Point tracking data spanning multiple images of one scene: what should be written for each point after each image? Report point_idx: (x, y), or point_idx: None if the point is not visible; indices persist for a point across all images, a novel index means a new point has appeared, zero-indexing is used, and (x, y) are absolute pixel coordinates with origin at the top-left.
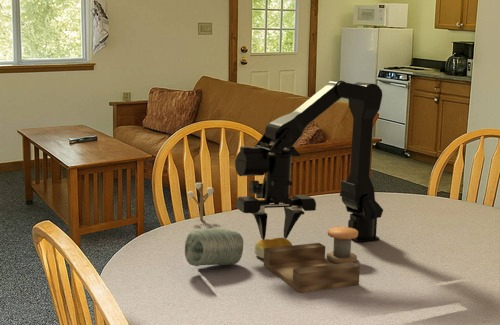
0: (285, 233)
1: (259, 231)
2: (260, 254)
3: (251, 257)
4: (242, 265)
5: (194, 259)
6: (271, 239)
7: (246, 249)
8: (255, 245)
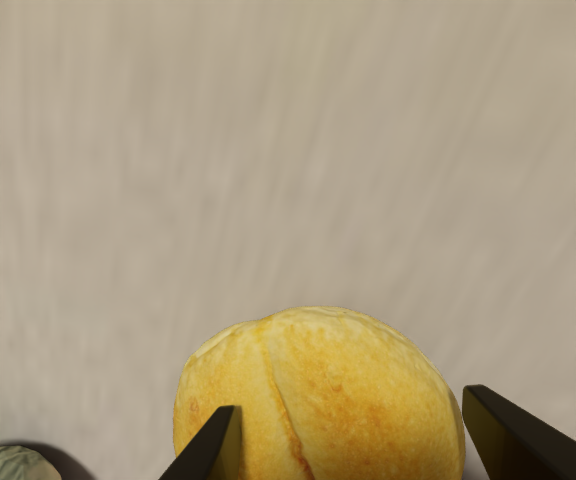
0: (492, 462)
1: (170, 470)
2: None
3: (170, 381)
4: (105, 476)
5: None
6: (308, 443)
7: (163, 224)
8: (174, 404)
